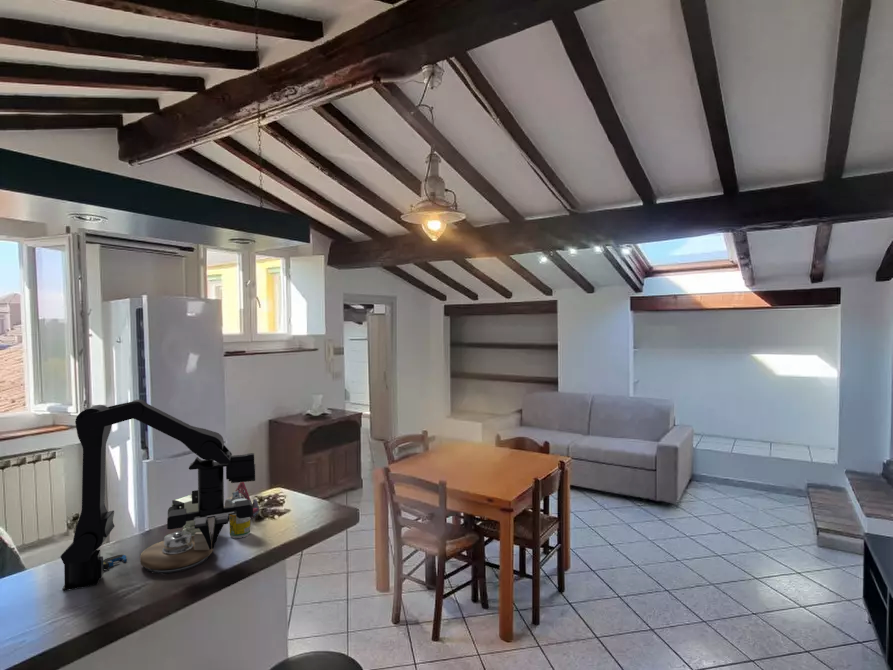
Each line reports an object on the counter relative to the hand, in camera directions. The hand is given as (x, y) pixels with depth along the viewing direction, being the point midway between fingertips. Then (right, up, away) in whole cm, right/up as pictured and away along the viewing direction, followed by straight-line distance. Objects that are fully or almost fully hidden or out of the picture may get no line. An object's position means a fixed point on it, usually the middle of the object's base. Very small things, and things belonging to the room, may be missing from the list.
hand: (211, 548), depth 125 cm
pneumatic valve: (-13, -4, +17) cm, 22 cm away
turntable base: (-9, -4, +2) cm, 10 cm away
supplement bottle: (0, -4, +18) cm, 18 cm away
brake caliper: (-5, -4, +31) cm, 31 cm away
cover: (-9, -1, +2) cm, 10 cm away
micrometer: (-26, -5, -2) cm, 27 cm away
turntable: (-9, -2, +2) cm, 10 cm away
